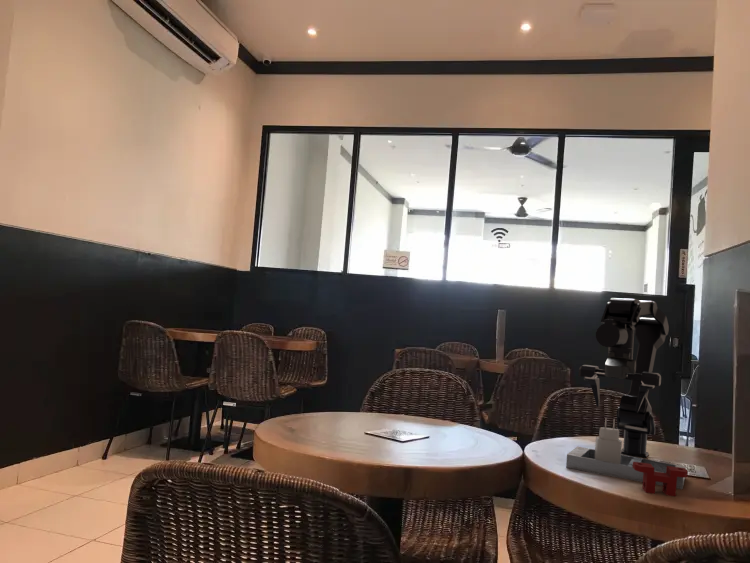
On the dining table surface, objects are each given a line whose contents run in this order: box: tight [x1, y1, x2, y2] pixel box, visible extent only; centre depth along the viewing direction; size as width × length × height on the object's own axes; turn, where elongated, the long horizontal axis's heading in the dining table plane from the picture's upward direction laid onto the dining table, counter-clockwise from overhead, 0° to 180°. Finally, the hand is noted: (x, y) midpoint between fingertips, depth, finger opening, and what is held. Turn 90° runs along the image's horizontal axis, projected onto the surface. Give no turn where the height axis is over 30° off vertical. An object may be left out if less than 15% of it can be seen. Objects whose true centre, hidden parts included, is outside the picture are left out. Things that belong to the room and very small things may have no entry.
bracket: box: [633, 462, 689, 497], centre depth 118 cm, size 3×6×10 cm
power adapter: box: [594, 417, 623, 464], centre depth 136 cm, size 3×5×12 cm, turn 81°
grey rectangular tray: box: [565, 445, 687, 490], centre depth 134 cm, size 12×24×3 cm, turn 59°
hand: (617, 409), depth 146 cm, fingers open, 9 cm apart
